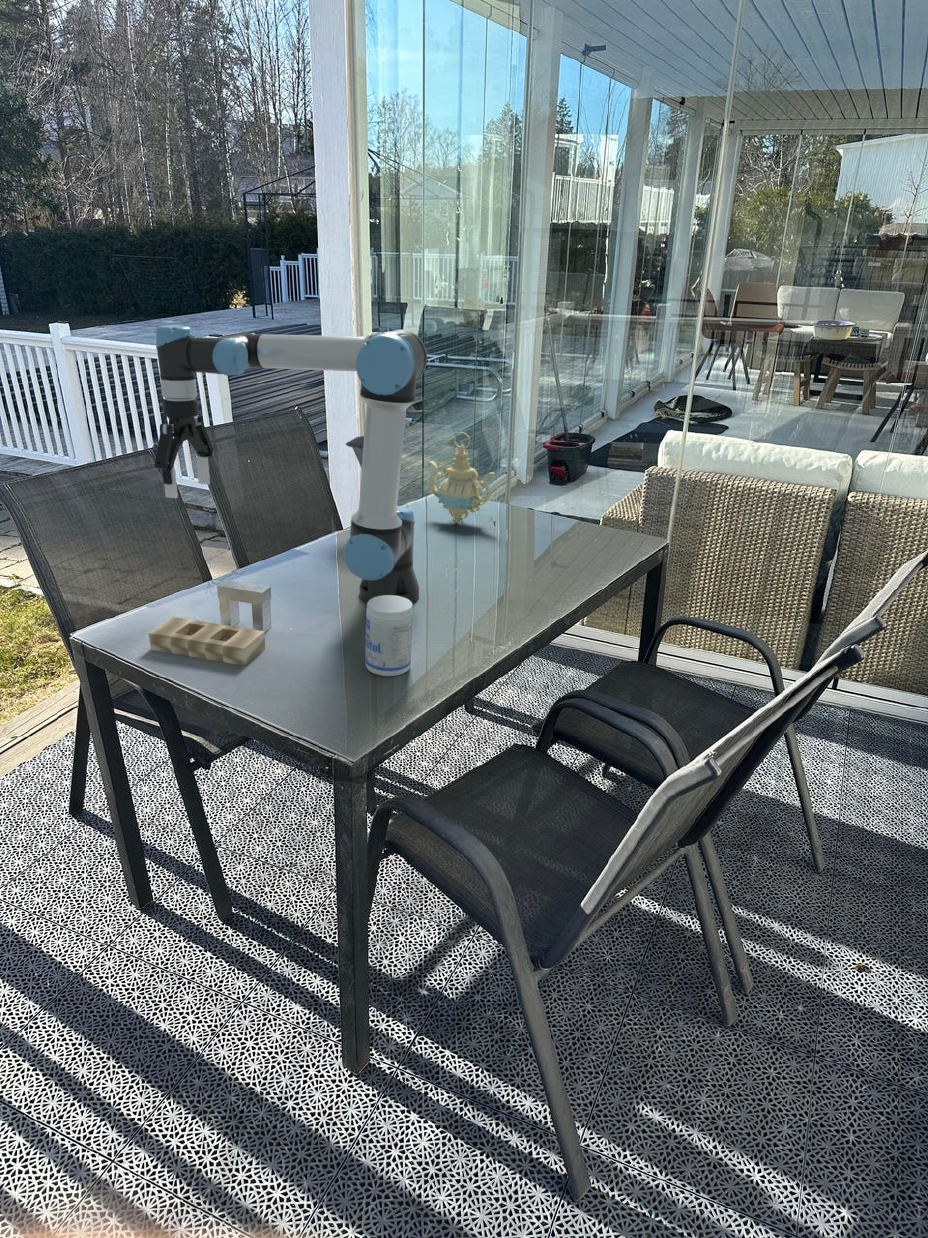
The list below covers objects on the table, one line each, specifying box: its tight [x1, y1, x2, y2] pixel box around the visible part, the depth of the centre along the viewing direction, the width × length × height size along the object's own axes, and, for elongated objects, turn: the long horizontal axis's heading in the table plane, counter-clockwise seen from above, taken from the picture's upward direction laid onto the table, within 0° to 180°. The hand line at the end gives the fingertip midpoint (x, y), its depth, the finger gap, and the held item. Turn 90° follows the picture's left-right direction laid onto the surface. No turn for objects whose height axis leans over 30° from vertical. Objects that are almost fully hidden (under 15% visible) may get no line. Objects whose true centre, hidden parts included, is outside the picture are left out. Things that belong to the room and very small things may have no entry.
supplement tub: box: [364, 595, 414, 677], centre depth 169 cm, size 10×10×15 cm
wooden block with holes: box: [148, 616, 266, 667], centre depth 175 cm, size 22×9×4 cm, turn 76°
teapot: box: [426, 431, 496, 525], centre depth 260 cm, size 24×12×30 cm, turn 60°
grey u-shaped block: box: [216, 579, 273, 633], centre depth 185 cm, size 11×4×10 cm, turn 76°
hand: (188, 490), depth 193 cm, fingers open, 13 cm apart
